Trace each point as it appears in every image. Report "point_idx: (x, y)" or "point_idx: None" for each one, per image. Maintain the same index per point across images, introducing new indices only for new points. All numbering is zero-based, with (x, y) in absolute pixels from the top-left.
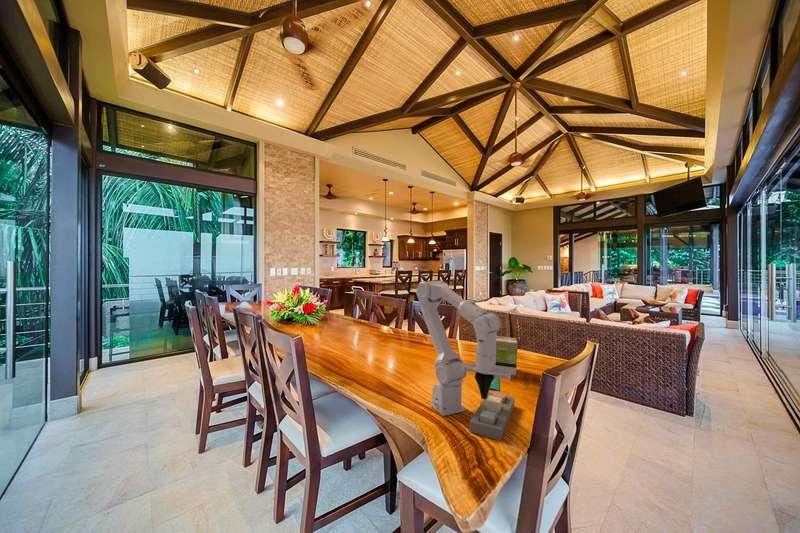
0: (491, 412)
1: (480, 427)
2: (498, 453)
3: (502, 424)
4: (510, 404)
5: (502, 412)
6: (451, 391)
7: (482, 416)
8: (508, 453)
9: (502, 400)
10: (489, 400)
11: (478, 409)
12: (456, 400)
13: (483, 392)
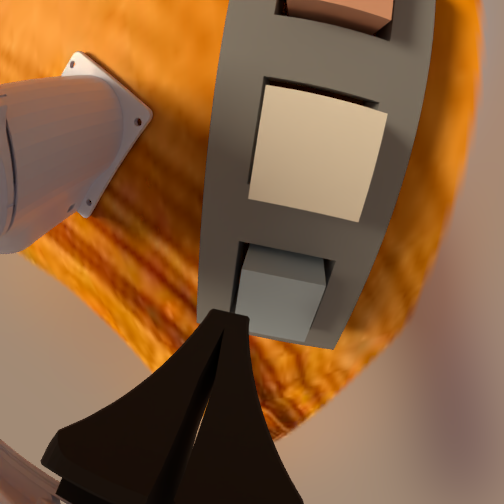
0: (293, 286)
1: None
2: (313, 369)
3: (347, 312)
4: (423, 48)
5: None
6: (25, 220)
7: None
8: (343, 364)
9: (373, 22)
10: (274, 201)
11: (210, 191)
12: (77, 181)
13: (211, 386)
